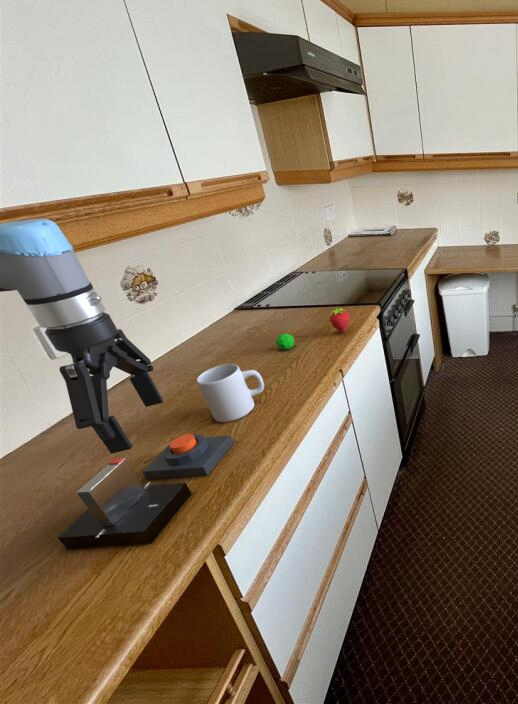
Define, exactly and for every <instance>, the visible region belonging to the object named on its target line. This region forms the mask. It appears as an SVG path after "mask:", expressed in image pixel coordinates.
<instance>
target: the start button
mask: <svg viewBox="0 0 518 704" xmlns="http://www.w3.org/2000/svg"><path fill="white" fill-rule="evenodd" d="M193 435H194V434H191V433H187V434H182V435H179V436H177V437H176V438H175V439H173V440H172V441H171V442H170V444H169V445H170V448H171V450H172V451H173V453H174V454H181V453H184V452H187V451H189V450H190V449H192V448H193V447H194V446H195V445H196V444H197V441H196V439H195V438H194V436H193Z"/></svg>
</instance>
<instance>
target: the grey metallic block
mask: <svg viewBox="0 0 518 704" xmlns="http://www.w3.org/2000/svg"><path fill="white" fill-rule="evenodd" d="M143 486H144V485H143V484H142V482H141V481H140V479H139V478H138V476H137V474H136V473H135V471H134V470H133V468H132V467H131V466H130V464H129V462H128V461H127V459H126V458H123V457H122V458H121V457H120V458H113V459H111V460H110V461H109V462H108V463H107V465H105V466H104V467H103V468H102V469H101V470H100V471H98V472H97V474H95V475H94V476H93V477H92V478H91V479H89V481H87V482H86V483H85V484H84V485H83V486H82V487H81V488H79V489H78V490H77V491H76V494H77V496H78V497H79V498H80V500H81V501H82V502H83V503H84V505H85V506H86V508H87V509H89V510H90V511H91V513H92V514H93V515H94V516H95V518H96V519H97V520H98V522H99V523H100V524H101V526H114V525H115V524H116V523H117V522H118V521H119V520H120V519H121V517H122V516H123V515H124V514H125V513H126V512H127V511H128V510H129V509H130V508H131V507H132V506H133V505H134V504H135V503H136V502H137V501H138V500H139V499H140V498H141V496H142V495H143V494H144V493H145V492H146V490H145V488H144V487H143Z"/></svg>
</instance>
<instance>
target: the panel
mask: <svg viewBox="0 0 518 704" xmlns="http://www.w3.org/2000/svg"><path fill="white" fill-rule="evenodd" d="M143 487H144V488H145V490H146V492H145V493H144V494H143V495H142V496H141V498H140V499H139V500H138V501H137V502H136V503H135V504H134V505H133V506H132V507H131V508H130V509H129V510H128V511H127V512H126V513H125V514H124V515H123V516H122V517H121V519H120V520H119V521H118V522H117V523H116V524H115V525H114V526H101V524H100V523H99V522H98V520H97V519H96V518H95V516H94V515H93V514H92V513H91V511H90V510H89V509H88V508H87V509H86V510H84V512H83V513H82V514H81V515H80V516H79V517H77V519H76V520H74V521H73V522H72V523H71V524H70V525H69V526H68V527H67V528H66V529H65V530H64V531H63V532H62V533H61V534H60V535H58V537H57V540H58V541H59V542H60V543H61V545H63V547H64V548H65V549H66V550H67V551H69V550H70V551H71V550H84V549H95V548H96V549H97V548H108V547H109V548H110V547H123V546H124V547H125V546H137V545H147V544H152V543H153V542H154V541H155V540H156V539H157V537H158V536H159V535H160V533H162V531H163V530H164V529H165V528H166V526H167V525H168V524H169V523H170V522H171V520H172V519H173V518H174V517H175V515H176V514H177V513H178V512H179V511H180V509H181V508H182V507H183V505H184V504H185V503H186V502H187V501H188V500H189V498H190V497H191V496H192V495H193V493H192V491H191V490H190V488H189V486H188V484H187V483H186V482H176V483H175V482H174V483H162V484H152V482H151V481H148V482H147V483H146V484H145V485H143Z"/></svg>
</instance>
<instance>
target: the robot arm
mask: <svg viewBox="0 0 518 704" xmlns="http://www.w3.org/2000/svg"><path fill="white" fill-rule="evenodd" d="M12 291H17V293H18V294H19V296H20V297H21V298H22V300H23V302H24V303H25V304H26V306H27V308H28V310H29V311H30V312H31V315H32V316H33V317H34V319H35V320H36V322H37V324H38V325H39V327H41V328H44V329H45V331H44V334H45V335H46V337H47V338H48V340H49V341H50V343H51V345H52V346H53V348H54V350H56V351H58V352H61V353H68V354H69V355H70V357H71V359H72V362H71V363H70V364H66V365H62V366H60V367H59V372H60V375H61V376H62V378H63V380H64V382H65V385H66V391H67V395H68V398H69V402H70V406H71V411H72V415H73V419H74V423H75V428H76V429H77V430H82V429H86V428H92V429H93V431H94V432H95V434H96V435H97V436H98V438H99V439H100V440H101V441H102V442H103V444H104V446H105V447H106V449H107V450H108V452H109V454H111V455H113V454H117V453H121V452H124V451H128V450H132V448H133V447H134V445H133V444H132V442H131V441H130V439H129V438H128V436H127V434H126V432H125V431H124V429H123V428H122V426H121V425H120V423H119V422H118V420H117V419H116V417H115V416H114V415H110V414H109V413H110V412H109V398H108V396H109V395H108V383H107V382H108V381H107V380H109V379H110V377H111V371H112V369H113V367H114V368H116V369H118V370H120V371H122V372H124V373H126V374H129V375H130V376H131V377H130V378H129V381H130V382H131V385H132V386H133V388H134V390H135V392H136V393H137V395H138V397H139V398H140V400H141V401H142V403H143V405H144V406H145V408H146V407H151V406H155V405H160V404H163V403H164V399H163V397H162V395H161V393H160V391H159V390H158V388H157V386H156V385H155V383H154V380H153V379H152V377H151V376H150V374H149V372H154V366H153V365H152V360H151V359H150V358H149V357H148V356H147V355H146V354H145V353H144V352H143V351H142V350H140V349H139V348H138V347H137V346H136V345H135V344H134V343H133V341H130V340H129V338H128V337H127V336H126V334H125V333H124V331H123V330H122V329H121V328H117V326H116V324H115V323H114V321H113V319H112V317H111V315H110V314H109V313H106V312H105V311H106V307H105V306H104V304H103V302H102V299H103V298H102V296H101V295H100V294H98V293H97V291H96V290H95V288H94V286H93V284H92V282H91V281H90V280H89V278H88V276H87V275H86V272H85V271H84V268H83V267H82V264H81V262H80V260H79V259H78V257H77V254H76V252H75V250H74V247H73V245H72V243H70V242H69V240H68V239H67V238H66V236H65V234H64V233H63V231H62V230H61V228H60V227H59V226H58V224H57V223H55V222H54V221H52V220H51V219H47V218H31V219H24V220H15V221H9V222H3V223H0V293H3V292H12Z"/></svg>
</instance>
